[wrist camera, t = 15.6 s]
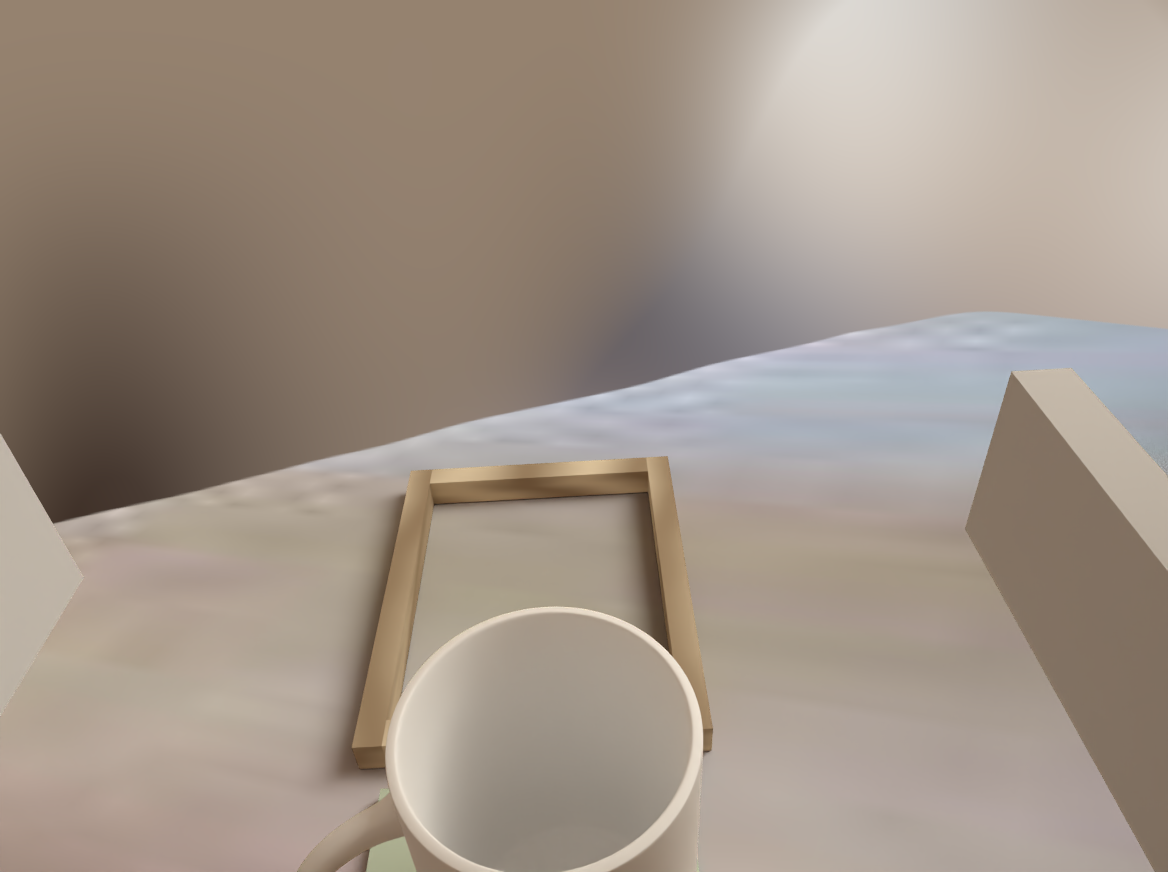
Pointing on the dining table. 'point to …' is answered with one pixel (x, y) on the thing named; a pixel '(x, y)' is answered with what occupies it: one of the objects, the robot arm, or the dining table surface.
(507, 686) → the mug
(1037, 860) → the dining table surface
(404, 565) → the pocket frame
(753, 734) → the dining table surface
